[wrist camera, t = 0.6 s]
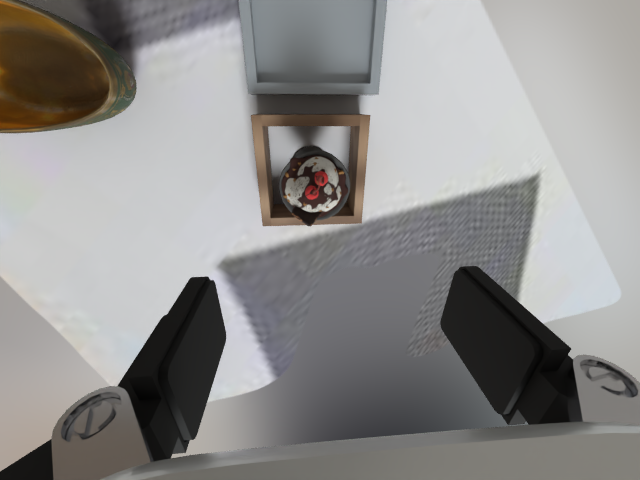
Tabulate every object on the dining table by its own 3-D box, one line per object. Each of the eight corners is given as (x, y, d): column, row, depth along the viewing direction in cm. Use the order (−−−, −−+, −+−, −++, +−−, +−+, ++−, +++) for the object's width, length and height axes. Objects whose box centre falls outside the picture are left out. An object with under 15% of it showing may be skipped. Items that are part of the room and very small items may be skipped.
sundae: (318, 127, 31) (333, 141, 18) (345, 174, 34) (375, 217, 21) (273, 157, 32) (256, 191, 19) (303, 200, 35) (306, 257, 22)
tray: (232, -88, 23) (227, -105, 21) (388, -80, 24) (395, -95, 22) (251, 94, 29) (248, 93, 27) (373, 95, 30) (378, 94, 28)
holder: (257, 114, 30) (251, 115, 26) (359, 114, 31) (370, 115, 26) (267, 211, 36) (262, 226, 31) (353, 209, 36) (361, 223, 32)
